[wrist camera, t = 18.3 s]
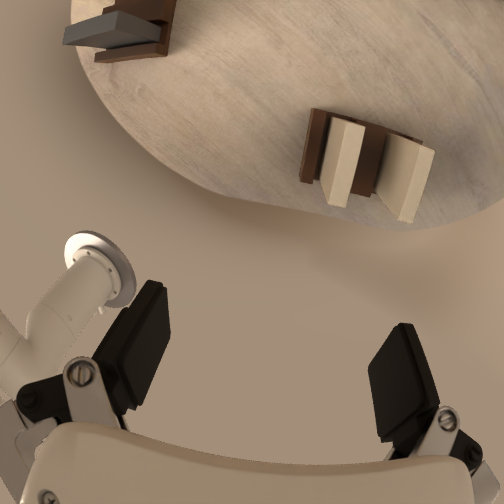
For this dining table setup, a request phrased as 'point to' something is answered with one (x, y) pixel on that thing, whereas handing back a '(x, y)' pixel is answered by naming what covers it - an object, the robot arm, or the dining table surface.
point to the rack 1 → (149, 9)
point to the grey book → (112, 31)
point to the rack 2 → (367, 156)
